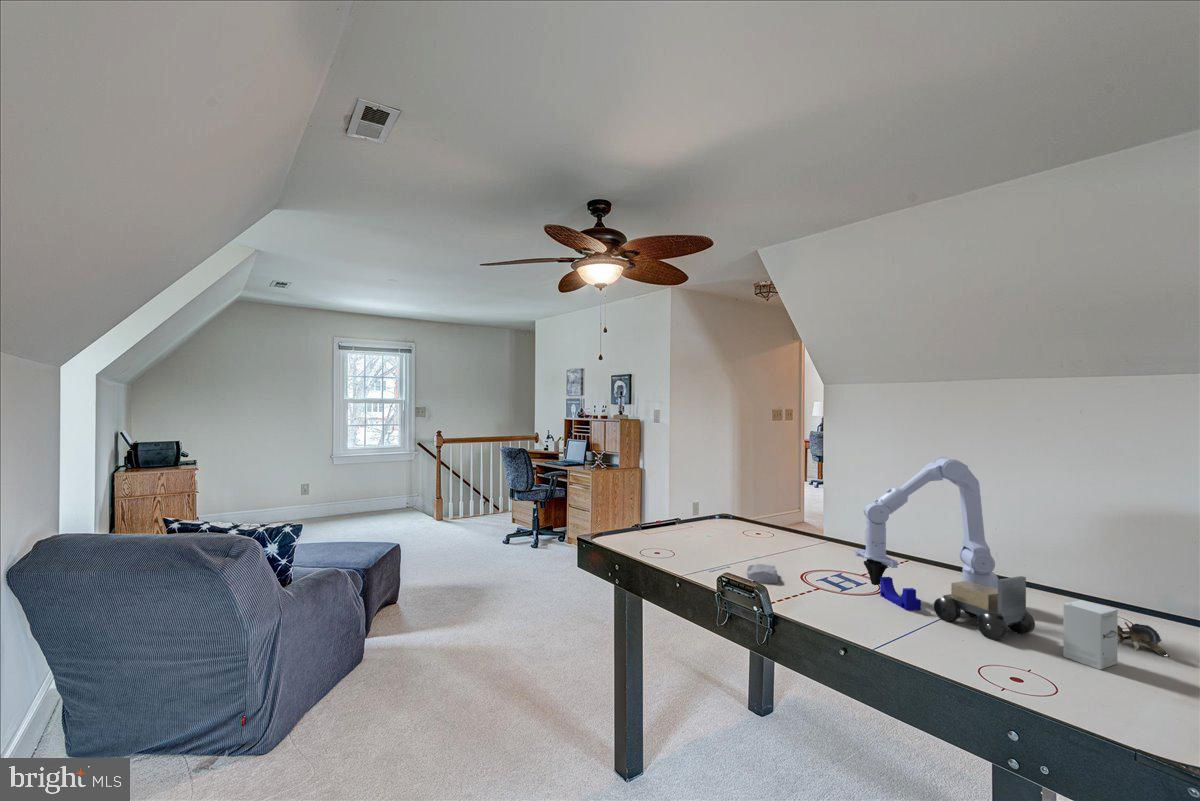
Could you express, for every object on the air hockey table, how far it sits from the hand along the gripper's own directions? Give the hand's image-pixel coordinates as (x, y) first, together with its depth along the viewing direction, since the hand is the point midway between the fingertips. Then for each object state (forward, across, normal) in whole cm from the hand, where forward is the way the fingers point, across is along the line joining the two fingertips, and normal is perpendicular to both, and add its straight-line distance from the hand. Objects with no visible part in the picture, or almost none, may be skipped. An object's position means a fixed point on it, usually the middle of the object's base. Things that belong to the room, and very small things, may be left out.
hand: (875, 584), depth 170 cm
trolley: (+2, +30, +5) cm, 30 cm away
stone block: (+3, -23, -26) cm, 35 cm away
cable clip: (+3, +10, -1) cm, 10 cm away
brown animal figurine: (+2, +52, +29) cm, 59 cm away
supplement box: (+2, +52, +9) cm, 53 cm away
